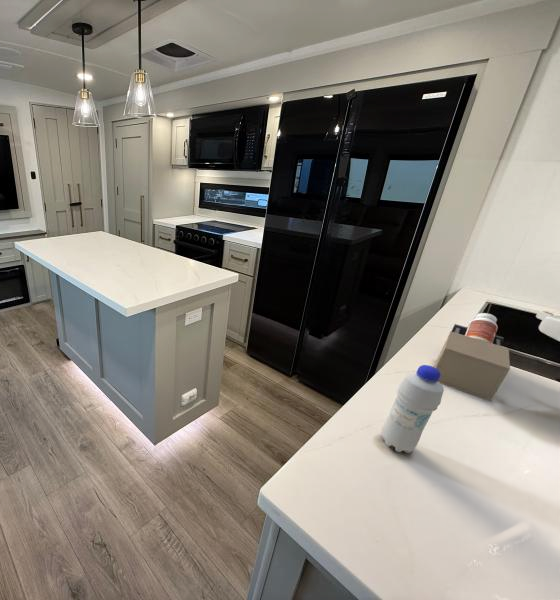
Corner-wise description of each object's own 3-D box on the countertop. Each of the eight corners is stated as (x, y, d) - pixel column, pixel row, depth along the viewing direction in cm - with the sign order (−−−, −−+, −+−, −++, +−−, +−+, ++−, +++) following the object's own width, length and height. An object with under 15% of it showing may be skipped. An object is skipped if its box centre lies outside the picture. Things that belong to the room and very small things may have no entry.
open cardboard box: (436, 359, 99) (450, 331, 95) (490, 378, 91) (508, 348, 87) (430, 378, 90) (445, 347, 85) (490, 401, 82) (510, 368, 77)
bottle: (370, 434, 69) (401, 360, 61) (391, 428, 71) (425, 356, 63) (399, 460, 63) (438, 381, 55) (422, 452, 65) (463, 375, 57)
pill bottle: (496, 346, 89) (506, 318, 92) (471, 335, 91) (481, 308, 95) (480, 354, 94) (490, 327, 98) (457, 343, 97) (467, 317, 100)
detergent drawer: (445, 342, 108) (456, 320, 105) (490, 356, 101) (503, 333, 97) (439, 361, 97) (451, 337, 93) (489, 379, 89) (504, 353, 86)
